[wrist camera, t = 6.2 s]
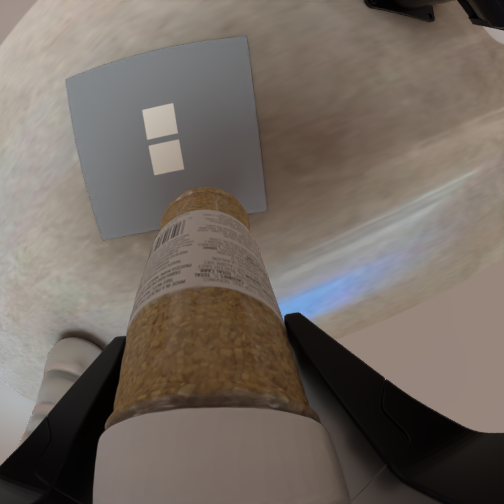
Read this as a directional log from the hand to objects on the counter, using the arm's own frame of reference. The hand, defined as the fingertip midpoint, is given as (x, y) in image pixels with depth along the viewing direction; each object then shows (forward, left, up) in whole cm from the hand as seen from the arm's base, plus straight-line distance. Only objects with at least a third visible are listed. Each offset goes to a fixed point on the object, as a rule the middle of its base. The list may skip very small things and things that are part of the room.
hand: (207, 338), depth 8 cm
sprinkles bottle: (0, 0, -8) cm, 8 cm away
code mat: (+2, -4, -13) cm, 14 cm away
